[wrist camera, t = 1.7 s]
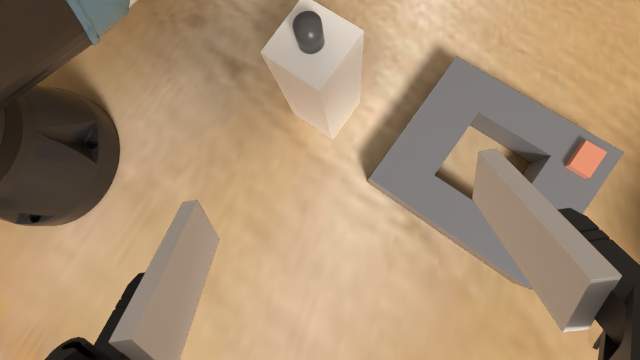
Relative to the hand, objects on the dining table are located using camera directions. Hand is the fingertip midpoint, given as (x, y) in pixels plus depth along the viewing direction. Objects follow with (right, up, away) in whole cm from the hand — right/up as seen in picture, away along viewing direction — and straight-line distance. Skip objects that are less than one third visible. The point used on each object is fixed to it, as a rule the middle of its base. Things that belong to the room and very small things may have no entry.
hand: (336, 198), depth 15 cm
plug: (0, +8, +18) cm, 19 cm away
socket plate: (+14, +2, +15) cm, 21 cm away
